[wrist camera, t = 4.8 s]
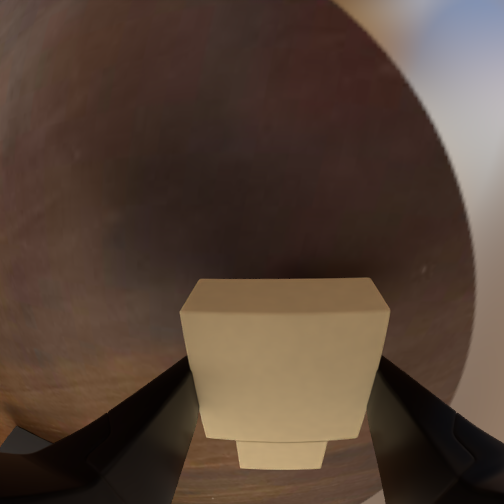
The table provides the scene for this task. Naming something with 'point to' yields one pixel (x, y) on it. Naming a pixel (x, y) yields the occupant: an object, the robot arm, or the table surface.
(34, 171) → the table surface
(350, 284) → the cream pad
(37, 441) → the block
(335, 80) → the table surface
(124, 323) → the table surface
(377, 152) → the table surface
